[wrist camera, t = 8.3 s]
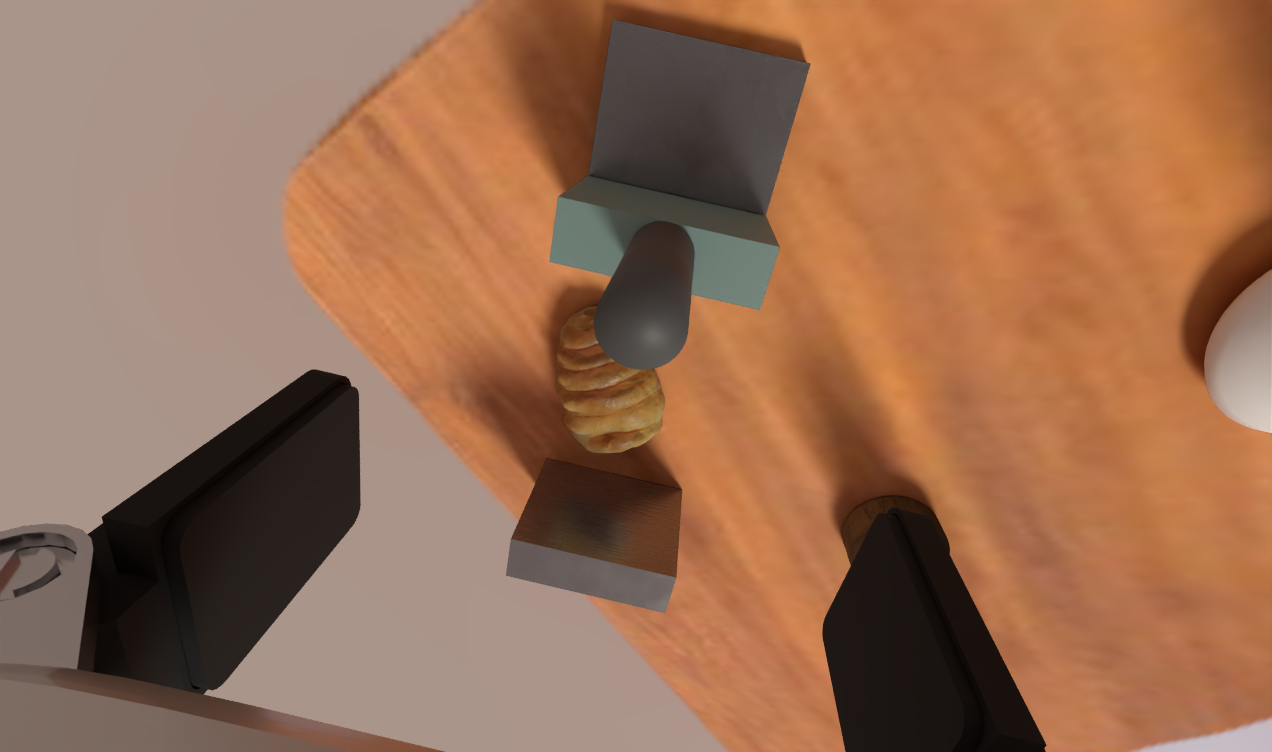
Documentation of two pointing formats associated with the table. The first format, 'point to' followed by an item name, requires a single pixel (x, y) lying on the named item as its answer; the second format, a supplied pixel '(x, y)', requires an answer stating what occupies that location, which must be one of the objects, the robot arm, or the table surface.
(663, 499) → the block
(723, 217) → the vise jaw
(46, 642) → the robot arm
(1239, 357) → the flower in vase
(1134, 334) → the table surface
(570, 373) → the pastry
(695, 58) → the dark grey flat plate
